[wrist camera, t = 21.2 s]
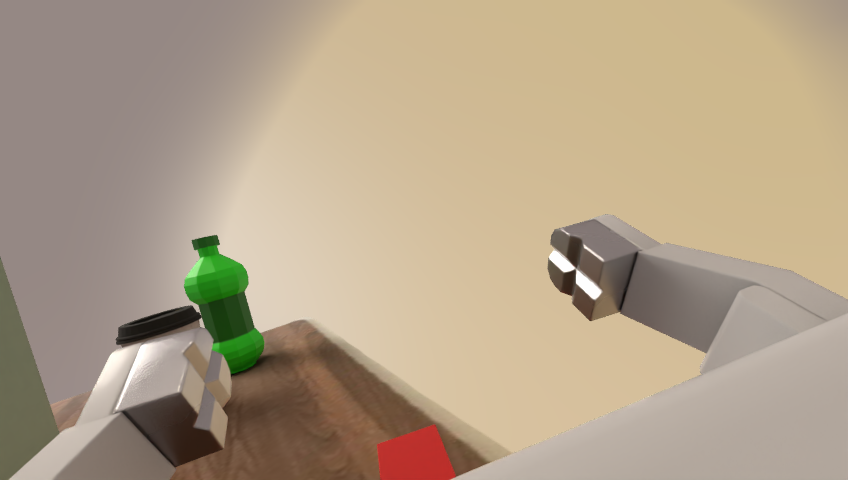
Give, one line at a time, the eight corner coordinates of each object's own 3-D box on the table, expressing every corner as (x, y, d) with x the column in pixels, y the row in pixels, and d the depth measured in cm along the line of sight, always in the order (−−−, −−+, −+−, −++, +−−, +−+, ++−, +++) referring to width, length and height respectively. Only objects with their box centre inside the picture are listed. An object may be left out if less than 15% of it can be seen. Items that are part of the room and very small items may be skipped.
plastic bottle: (279, 350, 74) (245, 229, 72) (252, 374, 63) (212, 233, 61) (232, 360, 74) (198, 241, 72) (198, 386, 64) (156, 247, 62)
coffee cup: (226, 414, 49) (195, 308, 48) (138, 451, 45) (101, 335, 44) (226, 391, 58) (200, 300, 57) (152, 420, 54) (122, 322, 52)
